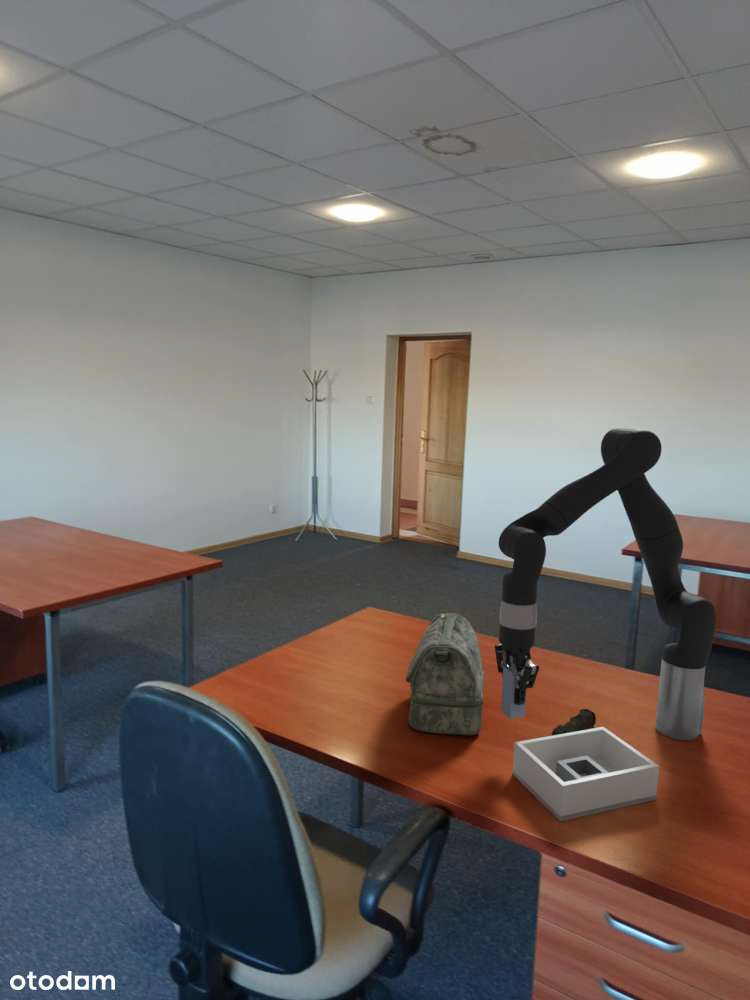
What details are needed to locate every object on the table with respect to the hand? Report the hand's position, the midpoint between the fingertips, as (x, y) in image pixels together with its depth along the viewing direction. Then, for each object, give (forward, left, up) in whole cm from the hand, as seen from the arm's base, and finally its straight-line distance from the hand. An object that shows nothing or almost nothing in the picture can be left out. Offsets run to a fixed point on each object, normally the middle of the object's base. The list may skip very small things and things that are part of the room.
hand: (513, 699), depth 137 cm
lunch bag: (+4, -23, -13) cm, 27 cm away
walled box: (-8, +14, -13) cm, 21 cm away
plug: (0, 0, -3) cm, 3 cm away
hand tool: (-18, -3, -14) cm, 23 cm away
